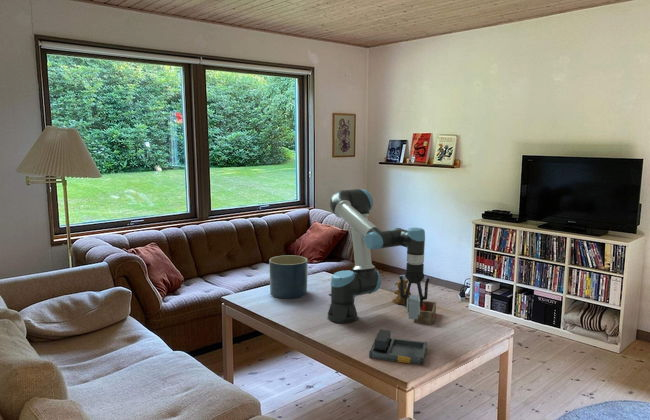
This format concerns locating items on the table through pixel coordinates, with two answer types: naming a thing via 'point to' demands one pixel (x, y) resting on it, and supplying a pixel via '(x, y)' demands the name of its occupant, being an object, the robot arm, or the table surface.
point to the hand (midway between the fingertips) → (413, 313)
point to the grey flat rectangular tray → (397, 349)
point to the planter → (288, 276)
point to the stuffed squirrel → (400, 299)
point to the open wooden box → (427, 313)
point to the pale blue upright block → (413, 307)
